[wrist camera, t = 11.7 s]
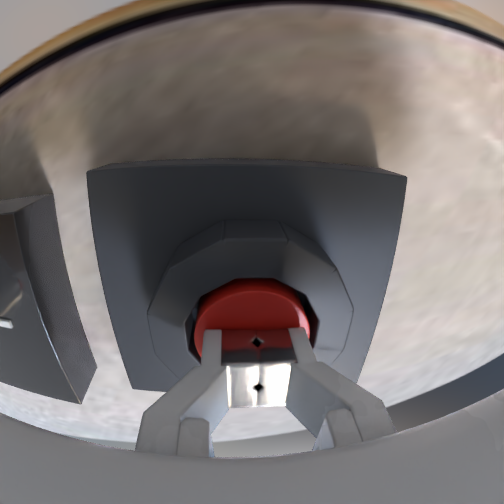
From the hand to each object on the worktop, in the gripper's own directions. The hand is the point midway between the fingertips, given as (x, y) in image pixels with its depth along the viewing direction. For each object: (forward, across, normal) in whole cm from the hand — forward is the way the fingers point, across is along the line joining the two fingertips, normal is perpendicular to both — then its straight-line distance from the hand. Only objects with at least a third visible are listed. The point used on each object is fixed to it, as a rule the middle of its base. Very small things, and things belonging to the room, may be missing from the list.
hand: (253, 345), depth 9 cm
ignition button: (+2, 0, 0) cm, 2 cm away
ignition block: (+4, 0, 0) cm, 4 cm away
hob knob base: (+4, +15, +1) cm, 16 cm away
